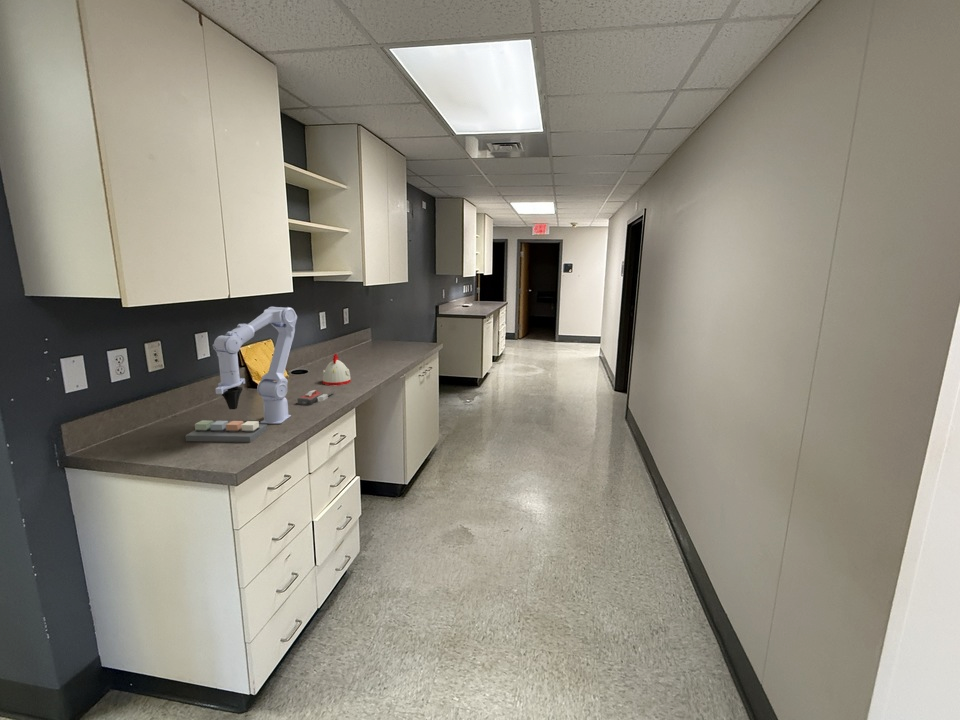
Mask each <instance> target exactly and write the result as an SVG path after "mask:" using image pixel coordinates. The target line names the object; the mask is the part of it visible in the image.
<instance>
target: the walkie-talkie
mask: <svg viewBox="0 0 960 720" xmlns="http://www.w3.org/2000/svg"><path fill="white" fill-rule="evenodd" d="M334 393H336V391H335V390H332V391H331V392H329V393H326V394H325V393H323V392H320V391H318V390H317V389H312V390H310V391H308V392H307V393H305V394H304V395H303V396H300V397H299V398H297V405H302V406H303V405H304V406H305V405H307V406H312V405H313V404H315V403H317V402H318V403H319V402H323V401H326V400H328V399H329V396H332V395H333V394H334Z"/></svg>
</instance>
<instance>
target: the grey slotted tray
mask: <svg viewBox="0 0 960 720" xmlns="http://www.w3.org/2000/svg"><path fill="white" fill-rule="evenodd" d="M241 429H242V428H241ZM267 431H268V424H266V423H259V427H258V428H257V430H256V431H255V432H253V433H246V432H245V431H244V430H240V431H239V432H229V430H225V431H223V432H214V430H209V431H207V432H198V430H193V431H191V432H189V433H187V434H185V442H212V443H214V442H217V443H218V442H220V443H221V442H223V443H225V442H226V443H227V442H228V443H252V442H253V441H254V440H256V439H257V438H258V437H259V436H261V435H263V434H264V433H266V432H267Z"/></svg>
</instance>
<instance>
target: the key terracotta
mask: <svg viewBox="0 0 960 720" xmlns="http://www.w3.org/2000/svg"><path fill="white" fill-rule="evenodd" d="M244 423H245V422H244V421H243V420H231V421H228V424H226V430H229V432H239V431H240V430H242V429H241V428H242V427H241V425H242V424H244Z"/></svg>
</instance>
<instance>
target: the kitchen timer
mask: <svg viewBox="0 0 960 720" xmlns="http://www.w3.org/2000/svg"><path fill="white" fill-rule="evenodd" d="M351 377H352V376H351V372H350V369H349V368H348V367H347V366H346V364H345V363H344V362H342V361H341V360H339V357H338V353H334V355H333V358H332V361H330V362H329V363H328V364H327V366H326V367H325V369H323V372H322V384H323V385H324V384H326V385H325V386H330V385H337V386H343V384H345V385H348V384H350V383H351V382H352V379H351ZM349 382H350V383H349ZM347 383H348V384H347Z"/></svg>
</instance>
